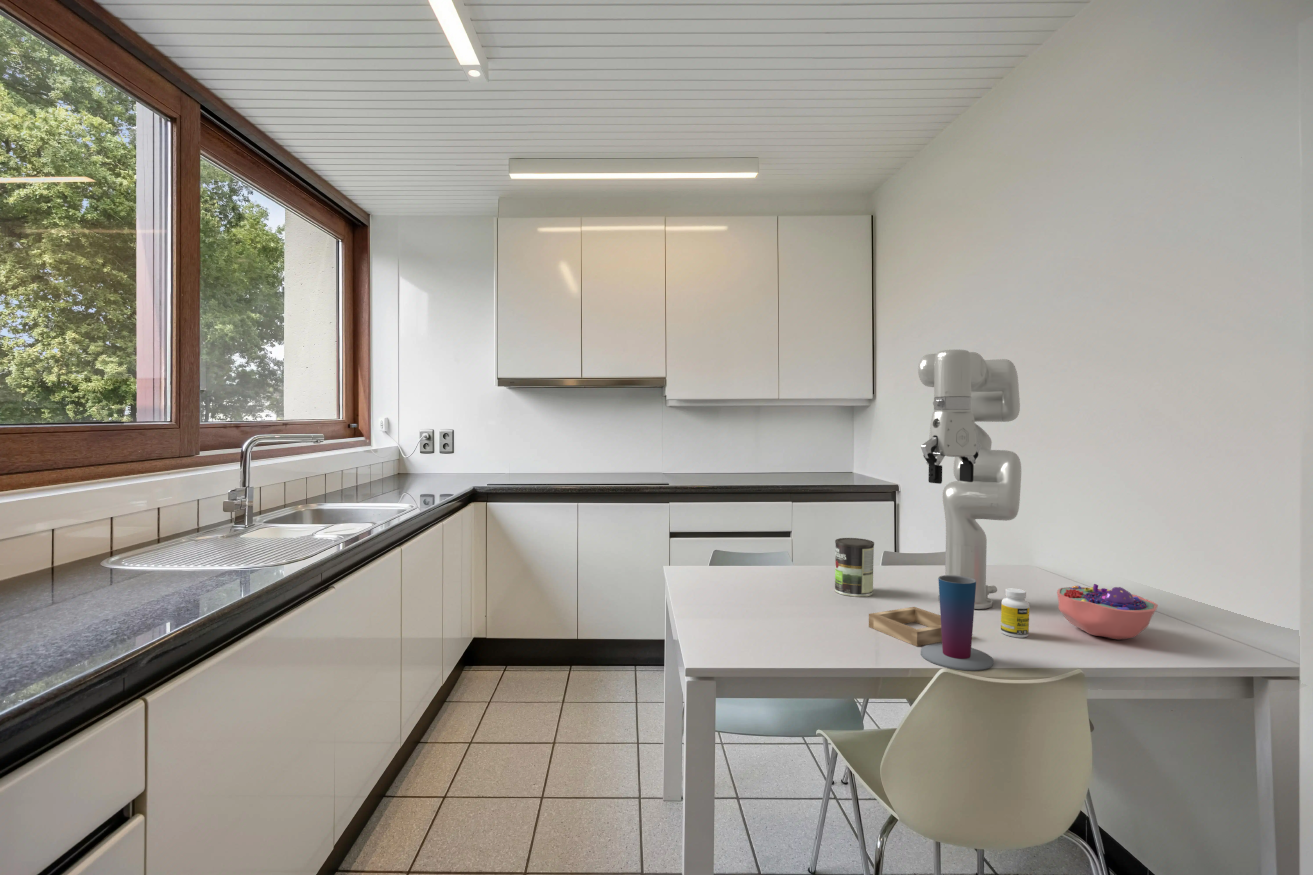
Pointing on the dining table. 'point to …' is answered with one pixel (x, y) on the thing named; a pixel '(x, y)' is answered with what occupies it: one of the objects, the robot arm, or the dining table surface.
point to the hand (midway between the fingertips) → (951, 482)
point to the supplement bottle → (1015, 613)
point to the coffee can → (854, 567)
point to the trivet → (973, 663)
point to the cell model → (1106, 611)
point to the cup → (957, 614)
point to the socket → (895, 626)
